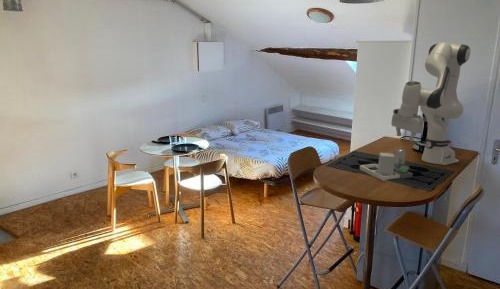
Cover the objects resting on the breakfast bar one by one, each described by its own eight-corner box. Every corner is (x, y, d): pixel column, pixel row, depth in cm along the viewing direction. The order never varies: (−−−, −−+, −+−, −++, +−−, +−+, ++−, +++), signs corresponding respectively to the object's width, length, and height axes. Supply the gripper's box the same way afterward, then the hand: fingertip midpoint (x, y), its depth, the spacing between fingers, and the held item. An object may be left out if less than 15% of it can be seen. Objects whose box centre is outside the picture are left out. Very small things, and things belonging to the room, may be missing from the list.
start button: (403, 172, 216) (404, 165, 215) (408, 174, 212) (409, 167, 211) (397, 173, 214) (398, 166, 213) (402, 175, 211) (403, 168, 210)
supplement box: (392, 179, 210) (395, 156, 206) (378, 178, 211) (380, 155, 208) (390, 174, 217) (393, 153, 213) (377, 173, 218) (379, 152, 215)
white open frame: (359, 169, 226) (359, 165, 225) (375, 167, 230) (375, 163, 229) (383, 181, 207) (383, 176, 206) (399, 179, 211) (400, 174, 210)
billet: (399, 166, 231) (401, 148, 228) (405, 168, 226) (407, 150, 223) (392, 166, 229) (394, 148, 226) (398, 169, 224) (400, 151, 222)
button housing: (403, 174, 218) (403, 169, 217) (412, 178, 212) (412, 173, 211) (393, 175, 216) (393, 170, 215) (401, 180, 209) (402, 174, 209)
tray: (399, 166, 233) (399, 163, 232) (409, 170, 225) (409, 167, 225) (388, 167, 230) (388, 164, 230) (397, 171, 223) (398, 168, 222)
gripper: (428, 116, 198) (423, 142, 201) (400, 109, 216) (396, 133, 220) (418, 116, 195) (413, 142, 199) (391, 109, 214) (387, 133, 217)
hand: (404, 137), depth 209 cm, fingers open, 8 cm apart
